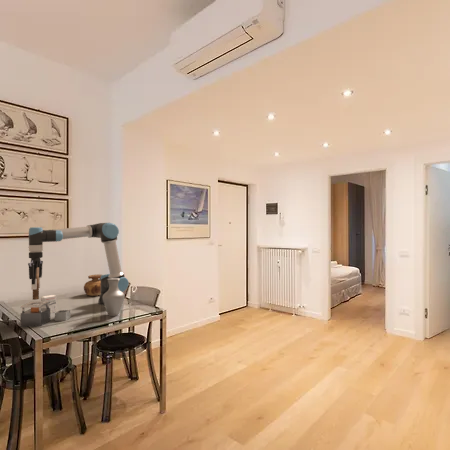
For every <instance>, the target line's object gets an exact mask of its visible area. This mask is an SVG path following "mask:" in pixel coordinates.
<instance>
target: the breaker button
mask: <svg viewBox="0 0 450 450" xmlns="http://www.w3.org/2000/svg"><path fill="white" fill-rule="evenodd" d="M30 309H31V312H38V311H39V307H33V308H30Z"/></svg>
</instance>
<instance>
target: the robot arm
mask: <svg viewBox="0 0 450 450" xmlns="http://www.w3.org/2000/svg"><path fill="white" fill-rule="evenodd" d="M119 232H120V230H119V226H117V224H115V223H112V222H98V223H95V224H89V225H86V226H79V227H67V228H57V229H56V228H55V229H43V227H38V226H37V227H36V226H35V227H30V228H28V258H29V259H30V262H28V263H27V265H28V279H29V280H31V290H32V291H33V290H34V289H37V279H36V270H37V267H39V289H40V288H41V278H42V277H43V264H44V261H43V260H42V259H41V258H43V251H44V250H43V249H44V248H43V247H44V246H43V244H44V243H51V242H52V243H54V242H55V243H57V242H62V241H63V240H68V239H69V240H70V239H79V238H89V239H90V238H91V239H92V238H97V239H98V238H99V239H100V241H101V243H102V244H103V246H104V250H105V255H106V260H107V266H108V270H109V273H108V274H107V273H106V274H100V275H101V279H100V278H99V279H100V280H101V294H100V295H99V298H98V303H97V304H98V305H101V306H102V305H103V306H105V305H104V302H103V298H102V297H103V295H104V294H105V293H106V292H107V291H108V290H109V282H108V280H107V279H109V278H120V280H119V282H118V288H119V290H120V291H121V292H123V293H124V292H125V291H126V290H127V289H128V287H129V279H128V278H127V277H125V272H123V271H122V268H121V263H120V258H119V251H118V246H117V240H118V236H119V234H120V233H119Z"/></svg>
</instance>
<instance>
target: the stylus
mask: <svg viewBox="0 0 450 450" xmlns="http://www.w3.org/2000/svg"><path fill="white" fill-rule="evenodd" d="M36 279H37V289H34V290H32V300H35V301H36V300H37V301H38V300H39V298H40V288H39V267H37V270H36Z"/></svg>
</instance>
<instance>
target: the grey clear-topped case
mask: <svg viewBox="0 0 450 450" xmlns="http://www.w3.org/2000/svg"><path fill="white" fill-rule="evenodd" d="M49 303H50V301H41V300H39V301H38V300H37V301H36V300H35V301H30V302H27V303H24V304H22V305H20V309H21V313H20V327H22V328H23V327H42V326H43V325H45V324H47V323H49V322H50V321H51V313H50V308H49ZM45 305H47V308H41V307H43V306H45ZM33 307H39V311H38V312H31V308H33ZM26 308H27V310H26V311H25V309H26ZM28 308H29V309H28Z"/></svg>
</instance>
